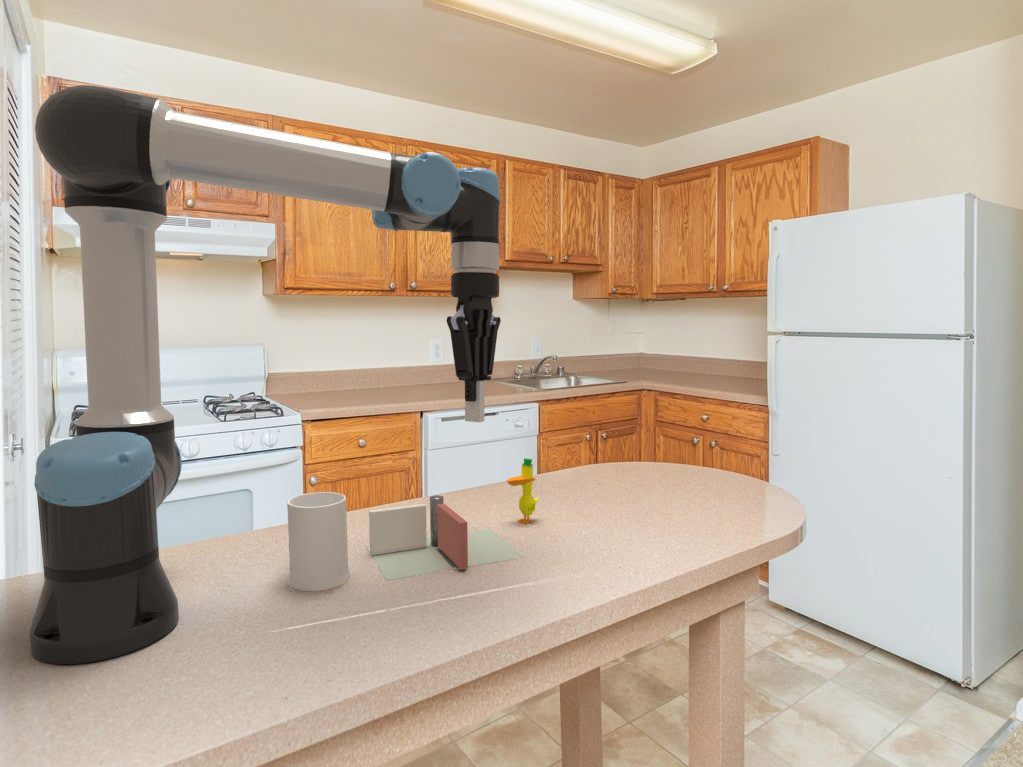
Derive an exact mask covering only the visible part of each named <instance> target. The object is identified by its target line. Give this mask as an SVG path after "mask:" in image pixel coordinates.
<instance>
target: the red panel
mask: <svg viewBox="0 0 1023 767" xmlns="http://www.w3.org/2000/svg"><path fill="white" fill-rule="evenodd" d="M437 532H438V547H439V548H440V549H441V550H442V551H443V552H444V553H445V554H446V555H447V556H448V557H449V558H450V559H451V560H452V562H453V563H454V564H455V565H456V566H457V567H458V569H459V570H466V569H468V568H469V567H468V533H467V532H468V521H467V520H466V519H464V518H463V517H462V516H460V515H459V514H458V513H457V512H455V511H454V510H453V509H451V507H449V506H448V505H447V504H445V503H443V504H437Z"/></svg>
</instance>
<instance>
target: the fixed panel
mask: <svg viewBox="0 0 1023 767" xmlns="http://www.w3.org/2000/svg"><path fill="white" fill-rule="evenodd" d="M368 522H369V523H368V524H369V526H368V528H369V529H368V531H369V534H368V535H369V546H370V553H369V554H370V556H371V557H372V555H378V554H385V553H392V552H398V551H405V550H412V549H418V548H425V547H427V505H426V504H425V503H418V504H411V505H402V506H395V507H386V508H385V507H384V508H378V509H377V508H376V509H370V510H368Z"/></svg>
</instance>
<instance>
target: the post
mask: <svg viewBox="0 0 1023 767" xmlns="http://www.w3.org/2000/svg"><path fill="white" fill-rule="evenodd" d="M437 504H444V496H443V495H438V494H437V495H432V496H430V497H429V514H430V515H429V516H430V517H429V518H430V519H429V520H430V522H429V523H430V527H429V528H430V529H429V530H430V532H429V533H430V537H431V546H433V547H438V532H437Z"/></svg>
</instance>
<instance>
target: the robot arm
mask: <svg viewBox="0 0 1023 767" xmlns="http://www.w3.org/2000/svg"><path fill="white" fill-rule="evenodd" d="M35 118H36V119H35V124H34V125H35V126H34V132H35V133H34V134H35V139H36V143H37V145H38V149H39V151H40V153H41V154H42V156H43V159H45V161H46V162H47V163H48V165H49V166H50V167H51V168H52V170H54V171H55V172H56V173H58V174H59V175H60V176H61V177H62V181H63V182H62V183H63V198H64V199H63V201H64V212H65V214H66V215H68V217H70V218H71V219H72V220H73V221H74V222H75V223H76V224H77V225H78V226H79V238H80V240H79V241H80V258H81V278H82V279H81V280H82V296H83V297H82V299H83V300H82V301H83V320H84V322H83V323H84V337H85V338H84V339H85V340H84V344H85V360H86V382H87V383H86V384H87V386H86V387H87V399H88V400H87V401H88V402H87V403H88V404H87V405H88V408H87V409H86V410H85V411H84V413H82V415H80V416H79V418H77V419H76V420H75V433H76V436H73V437H72V438H68V439H62V440H59V441H57V442H54V443H53V444H51V445H49V446H47V447H46V448H44V449H43V450H42V451H41V452H40V453H39V455H38V456H37V458H36V464H35V475H34V484H33V485H34V488H35V492H36V496H37V497H36V498H37V508H38V509H37V510H38V520H39V532H40V544H41V556H42V565H43V579H44V581H43V586H42V589H41V593H40V595H39V599H38V602H37V605H36V609H35V613H34V616H33V619H32V622H31V625H30V629H29V644H30V645H29V646H30V653H31V655H32V656H33V658H35V659H37V660H39V661H41V662H45V663H48V664H56V665H73V664H85V663H92V662H98V661H103V660H107V659H112V658H116V657H120V656H123V655H125V654H128V653H131V652H134V651H137V650H139V649H142V648H144V647H147V646H150V645H151V644H153V643H154V642H157V641H158V640H160V639H162V638H163V637H165V636H166V635H167V634H169V633H170V632H172V630H173V629H174V628H175V627H176V625H177V624H178V622H179V617H180V616H179V615H180V614H179V613H180V612H179V601H178V597H177V595H176V594H175V590H174V589H173V587H172V585H171V582H170V581H169V578H168V576H167V573H166V572H165V570H164V567H163V565H162V563H161V560H160V552H159V551H160V549H159V533H158V517H157V516H158V514H157V511H158V510H157V509H158V508H159V507H160V506H161V504H162V503H163V502H164V501H165V499H166V498H168V496H169V495H170V494H171V493H172V492H173V490H174V489H175V487H176V486H177V483H178V482H179V477H181V473H182V465H183V462H182V455H181V450H180V448H179V445H178V443H177V442H176V436H175V435H176V434H175V433H176V432H175V418H174V416H175V415H174V414H173V413H171V412H170V411H168V410H167V409H166V408H165V407H164V405H163V404H162V388H161V387H162V386H161V368H160V367H161V364H160V363H161V362H160V360H161V359H160V337H159V336H160V334H159V333H160V332H159V331H160V330H159V312H158V310H159V308H158V307H159V306H158V285H157V284H158V278H157V256H156V253H157V252H156V231H157V230H158V229H159V228H160V227H161V226H162V225H164V224H165V222H166V221H167V220H168V215H167V214H168V213H167V212H168V211H167V192H168V190H169V188H170V184H171V180H172V179H174V180H180V181H181V180H182V181H187V182H193V183H199V184H206V185H214V186H217V187H218V186H219V187H225V188H226V187H227V188H230V189H238V190H245V191H252V192H257V193H264V194H270V195H277V196H281V197H282V196H283V197H289V198H296V199H302V200H308V201H313V202H322V203H328V204H334V205H341V206H346V207H347V206H348V207H354V208H359V209H365V210H371V217H372V218H371V219H372V223H373V225H374V226H375V227H376V228H378V229H381V230H392V231H394V232H398V231H407V232H408V231H410V232H411V231H413V232H414V231H415V232H417V231H418V232H438V233H439V232H440V233H450V242H451V243H450V244H451V253H450V257H451V261H450V262H451V264H450V266H451V269H452V270H453V271H455V272H454V273H452V275H450V294H451V296H452V297H453V298H456V299H457V303H456V307H455V311H456V312H455V313H454V315H453V316H447V317H446V323H447V327H448V329H449V331H450V332H449V333H450V340H451V348H452V353H453V362H454V369H455V370H454V371H455V376H456V378H457V379H458V380H459V381H463V382H464V422H468V423H469V422H471V423H482V422H485V382H486V381H490V380H492V375H493V371H494V363H495V354H496V348H497V339H498V338H497V337H498V331H499V328H500V325H501V321H502V320H501V317H500V316H495V315H494V314H493V312H494V308H493V303H492V299H495V298H498V297H499V295H500V289H499V288H500V287H499V286H500V276H499V275H498V273H496V272H497V271H498V270H499V269H500V243H499V242H500V241H499V239H500V237H499V236H500V207H501V199H500V198H501V197H500V185H499V184H500V182H499V176H498V175H497V174H496V172H494V171H493V170H491V169H488V168H485V167H483V168H482V167H462V168H460V167H459V168H457V167H456V166H455V164H454V163H453V162H452V161H451V160H450V159H449V158H448V157H447V156H445V155H444V154H442V153H438V152H435V151H434V152H433V151H426V152H422V153H419V154H415V155H407V154H403V153H402V154H401V153H397V152H396V153H394V152H389V151H385V150H378V149H373V148H368V147H363V146H359V145H358V146H357V145H353V144H350V143H349V144H347V143H342V142H337V141H333V140H326V139H321V138H317V137H312V136H307V135H301V134H296V133H292V132H291V133H290V132H285V131H280V130H277V129H276V130H274V129H269V128H265V127H259V126H256V125H255V126H254V125H249V124H245V123H237V122H233V121H228V120H223V119H218V118H212V117H207V116H202V115H197V114H192V113H188V112H187V113H185V112H182V111H177V110H173V109H172V107H171V106H170V105H169V104H168V103H167V102H166V101H165V100H164V99H163V98H158V97H154V96H148V95H142V94H138V93H135V92H134V93H133V92H128V91H123V90H120V89H116V88H115V89H113V88H110V87H104V86H103V87H102V86H99V85H98V86H97V85H87V84H82V85H73V86H69V87H65V88H62V89H60V90H58V91H56V92H54V93H52V95H50V96H49V97H48V98H47V99H46V100H45V101H44V102H43V103H42V104H41V106H40V107H39V110H38V112H37V114H36V117H35Z"/></svg>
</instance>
